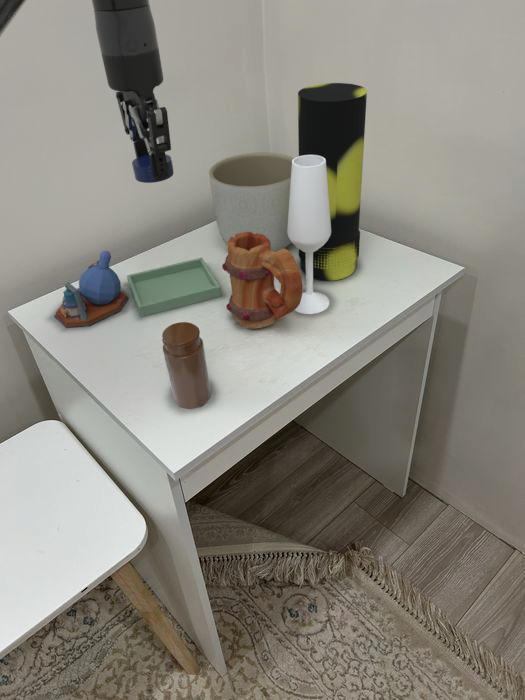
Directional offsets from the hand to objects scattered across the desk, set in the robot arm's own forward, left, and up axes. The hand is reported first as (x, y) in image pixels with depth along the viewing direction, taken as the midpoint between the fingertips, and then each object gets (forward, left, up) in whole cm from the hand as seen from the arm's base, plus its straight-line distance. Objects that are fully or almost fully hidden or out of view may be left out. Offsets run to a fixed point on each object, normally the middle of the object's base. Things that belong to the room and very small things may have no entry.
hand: (153, 171), depth 82 cm
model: (-14, +2, -22) cm, 26 cm away
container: (+28, -4, -22) cm, 36 cm away
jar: (-4, -27, -22) cm, 35 cm away
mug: (+11, -16, -22) cm, 29 cm away
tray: (0, +1, -22) cm, 22 cm away
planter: (+20, +10, -22) cm, 31 cm away
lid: (0, 0, +1) cm, 1 cm away
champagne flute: (+20, -13, -22) cm, 32 cm away
